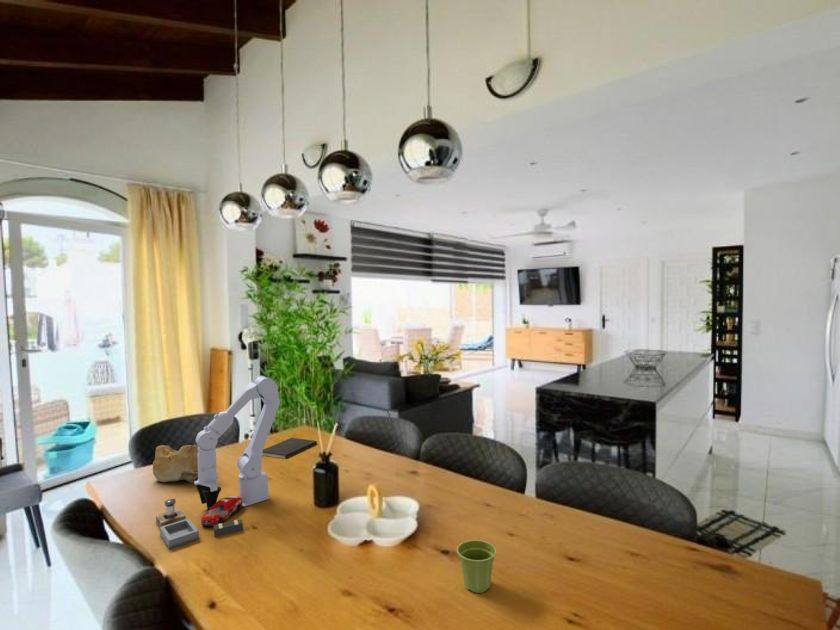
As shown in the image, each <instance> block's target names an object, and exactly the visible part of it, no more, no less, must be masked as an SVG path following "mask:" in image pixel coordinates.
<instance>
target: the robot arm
mask: <svg viewBox="0 0 840 630" xmlns="http://www.w3.org/2000/svg"><path fill="white" fill-rule="evenodd" d="M259 398H260V399H261V400H262V402H263V406H262V409H261V412H260V414H259V416H258V420H257V422H256V425H255V428H254V430H253V433H252V435H251V439H250V440H249V444H248V446H247V447H246V448H245V449H244V451H243V453H242V455H240V457H239V458H238V460H237V463H236V465H237V468H238V469H239V470H240V472H239V474H238V488H239V490H238V492H239V495H238V496H239V497H241V498H242V503H243V505H242V507H248V506H250V505H254V504H257V503H260V502H264V501H267V500H270V499H271V498H270V494H269V493H270V492H269V477H268V475H267V472H266V471H262V468H263V466H262V465H263V464H262V462H263V459H264V455H263V449H265V445H266V442H267V440H268V437H269V435H270V432H271V428H272V427H273V423H274V420H275V417H276V415H277V412H278V409H279V407H280V405H281V404H280V403H281V400H280V395H279V386H278V385H277V383H276V381H275V380H274V379H273V378H269V377H266V376H265V375H257V376H255V377H254V378H253V379H252V381H250V382H249V383H247V385H246V386H245V387H244V389H243V391H241V393H239V395H238V396H237V397H236V399H234V401H233V402H232V403H231V404H230V405H229V407H227V409H226V410H225V411H220V412H219V413H215V414H214V415H213V420H211V421H210V422H209V423H208V425H205V426H204V427H203V430H201V431H199V432H198V433H197V435H196V437H195V439H194V440H195V443H196V444H198V445H199V446H198V454H197V456H198V477H197V480H195V481H194V482H193V483H194V486H195V487H196V489H197V492H198V495H199V498H200V499H199V500H200V502H201V504H202V505H204V504H206V509H207V511H209V510H210V508H209V507H212V506H213V505H214V504H215V503H216V502H218V497H219V496H220V493H221V491H222V487H221V486H218V480H219V479H218V476H217V475H218V472H217V471H218V470H217V451H216V446H217V445H218V441H219V439H220V438H221V436H223V434H224V433H226V431H227V430H228V429H229V428H231V426H232V424H233V423H234V417H235V416H236V415H237V414H238V413H239V412H240V411H241V410H242V409H243V408H244V407H245V406H246V405H247V404H248V403H249V402H250V401H251V400H255V399H259Z"/></svg>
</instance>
